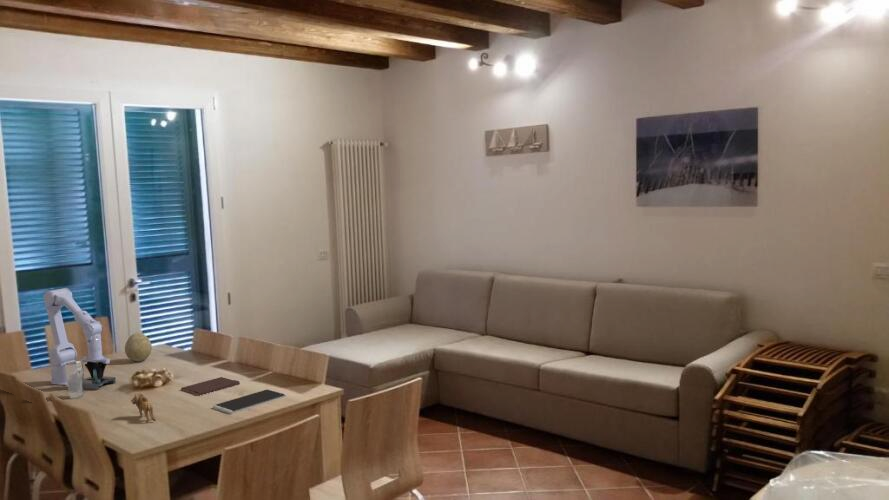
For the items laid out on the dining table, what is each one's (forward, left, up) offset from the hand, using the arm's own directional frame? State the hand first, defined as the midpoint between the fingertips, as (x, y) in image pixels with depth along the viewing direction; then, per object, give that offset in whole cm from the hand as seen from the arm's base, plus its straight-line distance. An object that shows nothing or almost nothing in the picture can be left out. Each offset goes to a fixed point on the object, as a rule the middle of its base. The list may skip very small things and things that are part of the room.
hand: (97, 378), depth 306 cm
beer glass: (+4, -15, -4) cm, 16 cm away
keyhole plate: (-1, 0, -4) cm, 4 cm away
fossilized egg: (-15, +41, -4) cm, 44 cm away
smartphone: (+85, -4, -4) cm, 85 cm away
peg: (0, 0, -3) cm, 3 cm away
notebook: (+54, +10, -4) cm, 55 cm away
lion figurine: (+56, -31, -4) cm, 64 cm away
